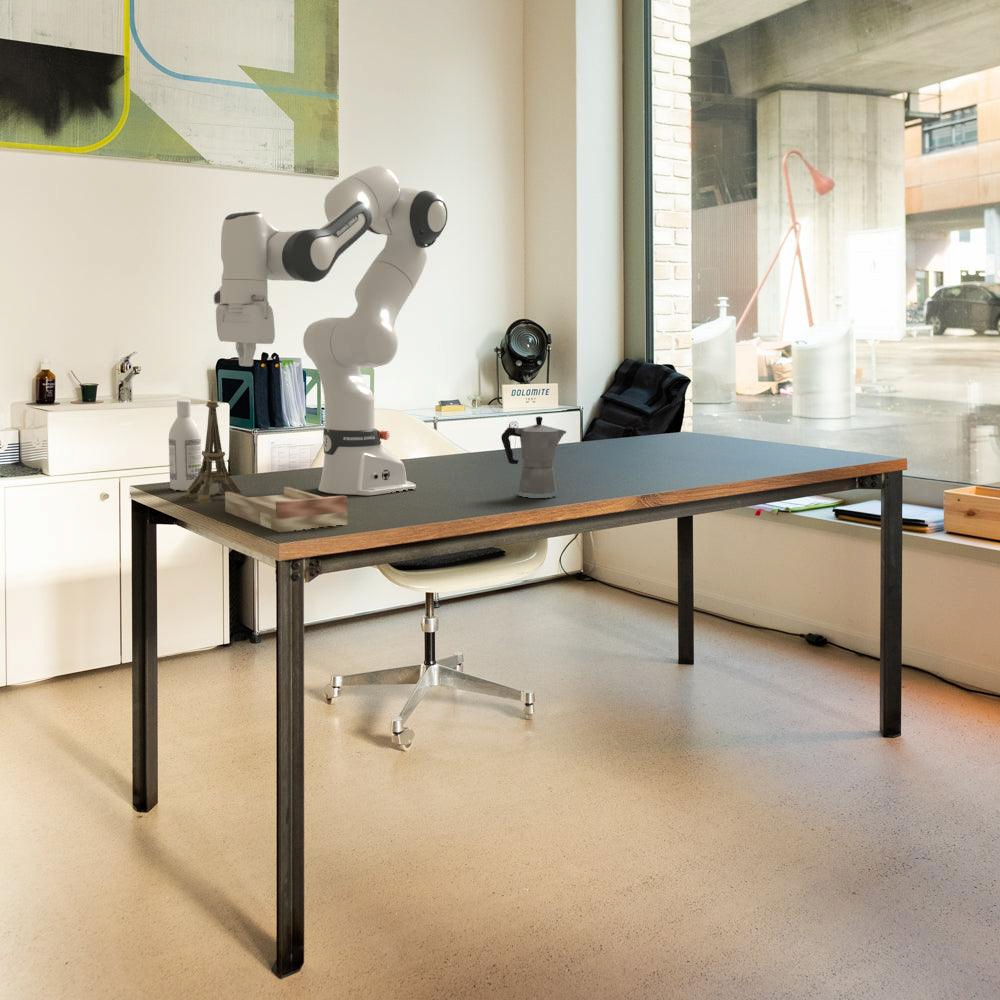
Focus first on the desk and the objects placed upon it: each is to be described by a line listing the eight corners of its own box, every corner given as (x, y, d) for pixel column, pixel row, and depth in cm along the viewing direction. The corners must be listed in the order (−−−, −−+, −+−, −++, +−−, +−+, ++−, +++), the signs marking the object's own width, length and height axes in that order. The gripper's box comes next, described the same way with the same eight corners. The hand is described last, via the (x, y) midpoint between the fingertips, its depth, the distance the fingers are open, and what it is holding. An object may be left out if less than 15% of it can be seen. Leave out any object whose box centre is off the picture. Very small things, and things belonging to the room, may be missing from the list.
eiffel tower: (198, 503, 229) (195, 384, 225) (182, 496, 237) (179, 381, 233) (246, 499, 235) (244, 383, 231) (229, 492, 243) (226, 380, 239)
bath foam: (206, 487, 250) (203, 400, 247) (196, 491, 243) (194, 402, 240) (176, 486, 250) (173, 399, 247) (165, 491, 243) (163, 401, 240)
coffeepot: (556, 491, 253) (558, 414, 251) (572, 498, 245) (574, 418, 242) (493, 493, 249) (495, 415, 246) (507, 500, 240) (508, 418, 237)
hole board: (289, 505, 227) (288, 479, 226) (347, 525, 207) (347, 496, 206) (225, 511, 219) (224, 484, 218) (279, 532, 199) (279, 502, 198)
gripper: (282, 295, 208) (283, 368, 211) (239, 296, 225) (240, 363, 227) (251, 294, 205) (253, 368, 207) (209, 295, 221) (211, 364, 223)
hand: (246, 366), depth 217 cm, fingers closed
